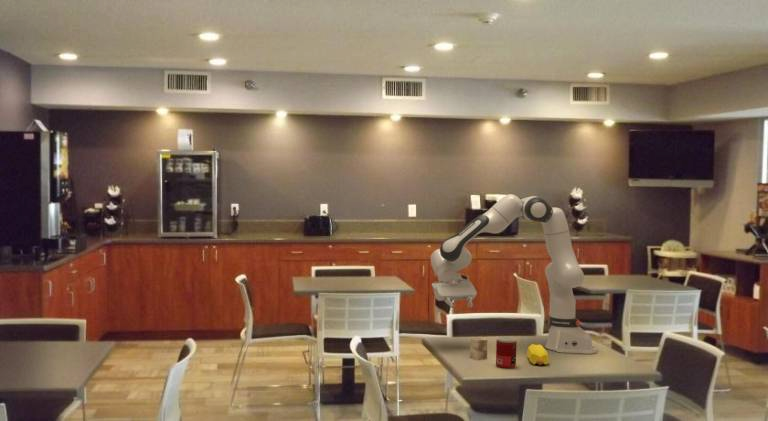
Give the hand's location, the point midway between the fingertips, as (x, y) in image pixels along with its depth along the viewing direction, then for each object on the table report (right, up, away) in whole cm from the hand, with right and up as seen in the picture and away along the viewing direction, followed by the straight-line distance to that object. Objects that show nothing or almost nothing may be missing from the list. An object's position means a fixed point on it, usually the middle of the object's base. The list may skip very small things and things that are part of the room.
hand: (461, 306), depth 326 cm
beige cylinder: (+6, -20, -10) cm, 23 cm away
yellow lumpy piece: (+30, -21, -14) cm, 39 cm away
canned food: (+15, -21, -24) cm, 35 cm away
